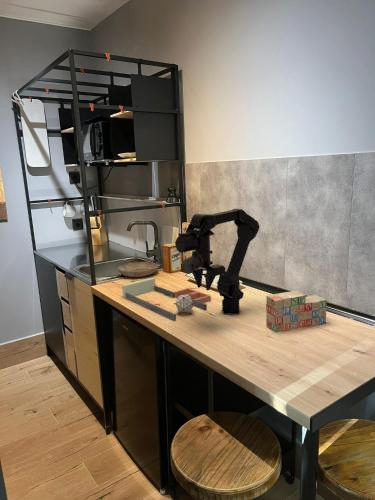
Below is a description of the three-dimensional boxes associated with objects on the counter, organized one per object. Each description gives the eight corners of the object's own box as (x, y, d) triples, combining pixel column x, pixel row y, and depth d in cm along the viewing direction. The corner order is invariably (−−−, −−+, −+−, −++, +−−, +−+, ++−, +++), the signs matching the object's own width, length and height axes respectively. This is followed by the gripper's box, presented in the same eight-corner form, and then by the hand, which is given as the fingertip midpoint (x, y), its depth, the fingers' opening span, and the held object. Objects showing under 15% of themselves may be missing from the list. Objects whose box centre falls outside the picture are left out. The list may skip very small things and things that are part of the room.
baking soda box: (176, 268, 223) (174, 242, 220) (183, 270, 218) (181, 243, 215) (163, 271, 217) (161, 244, 214) (170, 273, 212) (168, 246, 209)
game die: (188, 319, 154) (201, 299, 155) (186, 320, 146) (199, 298, 147) (170, 308, 156) (183, 288, 157) (167, 308, 148) (180, 286, 148)
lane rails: (206, 310, 154) (206, 304, 154) (174, 321, 144) (174, 315, 144) (155, 290, 183) (155, 285, 183) (125, 298, 173) (125, 293, 172)
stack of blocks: (315, 317, 143) (316, 287, 140) (326, 323, 137) (327, 291, 134) (265, 326, 136) (266, 294, 134) (274, 333, 130) (275, 300, 128)
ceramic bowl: (167, 273, 213) (167, 265, 212) (133, 282, 198) (133, 273, 197) (143, 267, 230) (142, 259, 229) (110, 275, 214) (109, 266, 213)
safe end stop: (155, 290, 183) (155, 278, 182) (125, 298, 173) (124, 286, 172) (152, 289, 185) (152, 277, 184) (123, 297, 175) (122, 284, 173)
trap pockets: (210, 300, 165) (210, 295, 165) (195, 305, 160) (195, 300, 159) (188, 292, 177) (188, 287, 177) (173, 297, 172) (173, 292, 171)
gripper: (169, 248, 139) (171, 288, 143) (202, 255, 125) (203, 299, 128) (192, 243, 146) (193, 282, 149) (226, 250, 132) (226, 292, 135)
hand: (203, 288), depth 140 cm, fingers open, 5 cm apart
